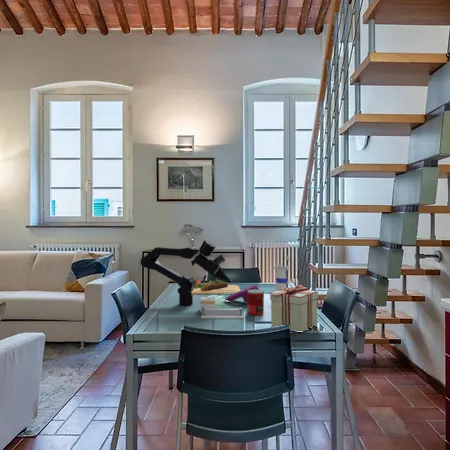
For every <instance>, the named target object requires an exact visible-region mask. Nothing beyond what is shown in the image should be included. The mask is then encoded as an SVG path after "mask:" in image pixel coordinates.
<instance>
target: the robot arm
mask: <svg viewBox="0 0 450 450" xmlns="http://www.w3.org/2000/svg"><path fill="white" fill-rule="evenodd" d="M216 247H217V246H216V245H215V244H214V243H213V242H210V241H208V240H203V241H202V244H201V245H200V247H199V248H196V247H194V246H189V247H182V248H179V247H178V248H176V247H162V246H156V247H154V248H153V249H152V250H151V251H150V252H149V253H147V254H146V255H145V256H143V257H141V258H140V265H141V267H142V268H145V269H148V270H149V269H150V270H154V271H156V272H157V273H160V274H161V275H163V276H164V277H166V278H169V279H170V280H172V281H173V282H175V283H177V285H178V286H179V288H177V290H176V291H177V293H178V295H179V298H178V302H179V303H178V306H192V305H193V302H194V297H193V296H194V295H192V292H191V291H193V288H195V286H196V279H195V278H194V277H193V276H191V275H189V273H187V274H183V275H182V274H181V273H178V272H177V271H175V270H173V269H171V268H169V267H167V266H166V265H164V264H162V263H161V262H160V261H159V260H158V259H159V258H160V256H161V255H162V256H176V257H180V258H183V259H187V260H188V259H189V260H190V259H193V260H190V262H191V266H192V267H193V266H195V265H197V266H199V267H200V268H201V269H203V270H204V271H206V272H207V273H209V275H210V276H212V278H213V279H214V280H218V281H224V282H225V283H227V284H229V283H231V282H232V280H230V278H229V277H228V276H227V275H226V274H225V270H224V269H223V268H222V267H221V264H222V263H225V262H226V258H225V257H224V255H223V254H220V255H218V256H216V257H215V258H214V259H213V260H212V259H210V258H207V257H210V256H211V255H212V254H213V252H214V250H215V249H216Z"/></svg>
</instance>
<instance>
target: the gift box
mask: <svg viewBox="0 0 450 450" xmlns="http://www.w3.org/2000/svg"><path fill="white" fill-rule="evenodd" d="M269 299H270V305H271V307H270V313H271V315H270V317H271V318H270V320H271V323H270V324H271V328H272V327H275V326H281V325H289V326H290V329H291V330H296V331H304V330H307V329H309V328H311V327H313V326H315V325H317V326H318V299H319V292H318V291H317V290H310V289H309V288H307V287H305V286H303V285H302V284H296V285H295V287H293V286H292V287H290V286H288V288H284V289H280V290H278V291H275V290H274V291H272V292H270V293H269ZM315 327H316V326H315ZM313 328H314V327H313ZM311 329H312V328H311ZM309 330H310V329H309ZM307 331H308V330H307Z"/></svg>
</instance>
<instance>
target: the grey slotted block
mask: <svg viewBox="0 0 450 450" xmlns="http://www.w3.org/2000/svg"><path fill="white" fill-rule="evenodd" d="M199 305H200V307H199V308H200V309H199V311H200V313H202V307H204V312H205V309H216V306H215V305H216V297H214V296H213V297H211V296H206V297H205V296H202V297H200V299H199Z"/></svg>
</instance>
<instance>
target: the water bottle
mask: <svg viewBox="0 0 450 450" xmlns="http://www.w3.org/2000/svg"><path fill="white" fill-rule="evenodd" d="M284 259H285V261H289V260H290V259H291V258H290V256H288V255H286V256H285V258H284ZM272 269H274V270H276V274H275V278H276V279H275V284H274V285H275V286H274V287H275V288H274V292H275V291H278V290H280V289H284V288H289V283H288V279H289V275H288V272H289V271H290V268H289V265H286V266H283V265H282V264H275V265H274V267H273V268H272Z"/></svg>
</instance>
